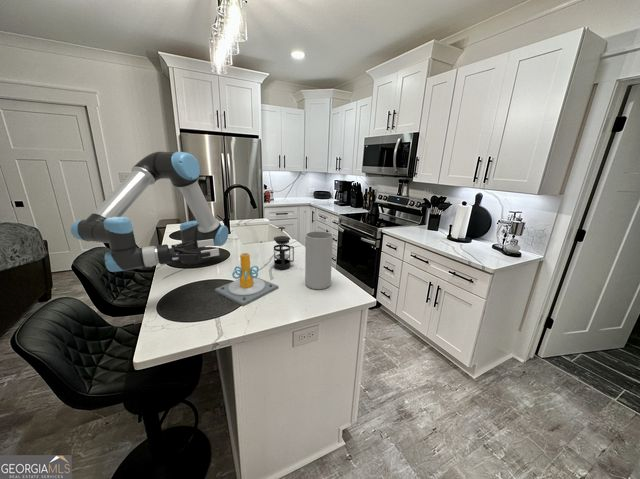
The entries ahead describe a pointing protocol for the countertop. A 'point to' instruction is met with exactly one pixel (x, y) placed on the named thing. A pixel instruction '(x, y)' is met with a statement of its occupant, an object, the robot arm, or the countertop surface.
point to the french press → (282, 252)
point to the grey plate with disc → (246, 291)
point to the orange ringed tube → (245, 271)
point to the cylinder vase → (318, 259)
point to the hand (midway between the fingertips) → (216, 246)
